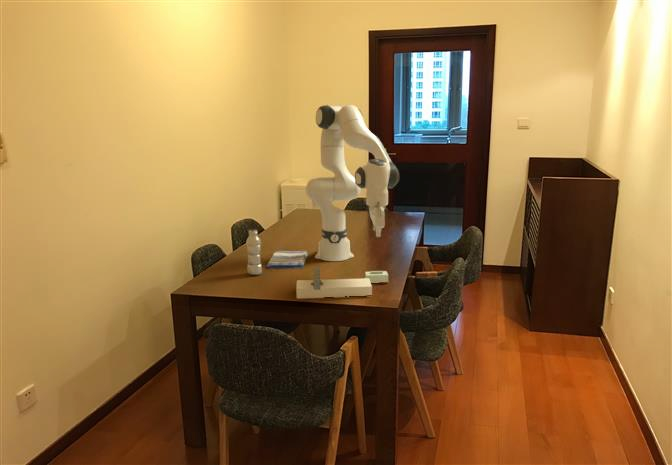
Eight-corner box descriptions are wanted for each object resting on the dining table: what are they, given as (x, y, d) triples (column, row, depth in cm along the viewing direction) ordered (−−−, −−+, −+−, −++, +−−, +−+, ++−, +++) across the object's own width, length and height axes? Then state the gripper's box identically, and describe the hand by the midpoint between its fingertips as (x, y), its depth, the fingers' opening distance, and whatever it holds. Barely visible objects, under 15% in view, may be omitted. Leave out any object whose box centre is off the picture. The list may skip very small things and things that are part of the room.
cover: (365, 280, 227) (365, 269, 225) (386, 280, 227) (386, 269, 226) (366, 284, 222) (366, 273, 221) (388, 284, 222) (388, 272, 221)
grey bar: (313, 291, 201) (312, 282, 200) (313, 275, 220) (313, 266, 219) (321, 291, 201) (320, 282, 200) (320, 274, 220) (320, 266, 219)
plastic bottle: (255, 271, 241) (253, 227, 236) (265, 273, 237) (263, 229, 232) (244, 274, 236) (241, 230, 231) (254, 277, 232) (252, 232, 227)
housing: (297, 289, 216) (296, 280, 215) (369, 287, 217) (369, 278, 216) (296, 298, 206) (296, 288, 205) (371, 296, 207) (371, 286, 206)
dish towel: (308, 255, 267) (308, 249, 266) (303, 269, 244) (303, 263, 243) (273, 255, 268) (273, 250, 267) (265, 269, 245) (265, 263, 244)
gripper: (388, 205, 206) (388, 240, 210) (381, 195, 226) (381, 227, 229) (372, 205, 206) (372, 240, 209) (366, 195, 226) (366, 227, 229)
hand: (376, 233), depth 219 cm, fingers open, 8 cm apart
